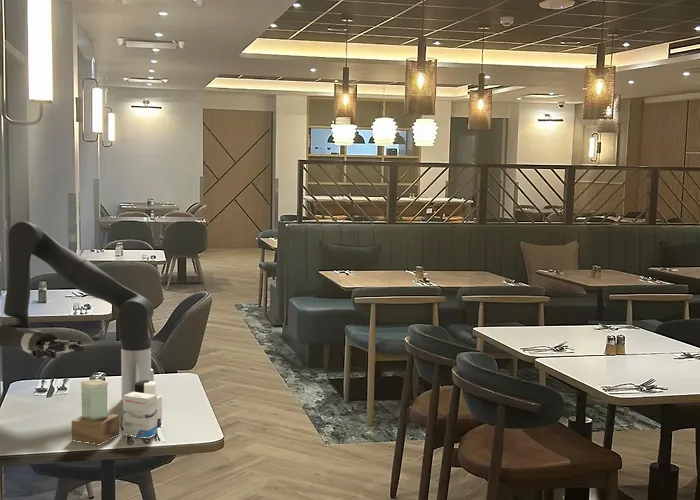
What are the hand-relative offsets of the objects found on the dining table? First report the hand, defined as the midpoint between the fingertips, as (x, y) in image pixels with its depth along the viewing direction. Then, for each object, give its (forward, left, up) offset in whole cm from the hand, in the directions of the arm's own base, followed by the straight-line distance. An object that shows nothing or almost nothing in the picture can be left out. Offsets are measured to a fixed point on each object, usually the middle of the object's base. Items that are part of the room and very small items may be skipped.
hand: (68, 352), depth 228 cm
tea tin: (0, +13, -16) cm, 21 cm away
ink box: (-10, +21, -22) cm, 32 cm away
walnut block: (0, +14, -22) cm, 26 cm away
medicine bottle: (-18, +12, -22) cm, 31 cm away
